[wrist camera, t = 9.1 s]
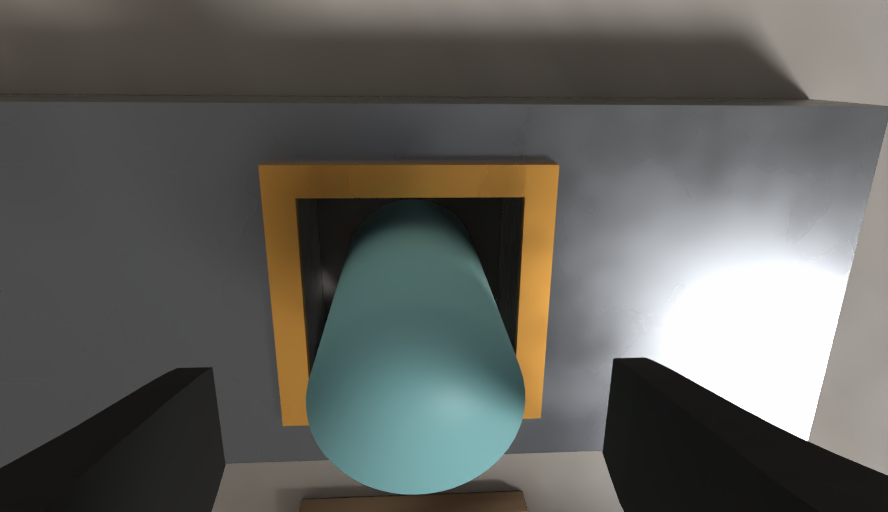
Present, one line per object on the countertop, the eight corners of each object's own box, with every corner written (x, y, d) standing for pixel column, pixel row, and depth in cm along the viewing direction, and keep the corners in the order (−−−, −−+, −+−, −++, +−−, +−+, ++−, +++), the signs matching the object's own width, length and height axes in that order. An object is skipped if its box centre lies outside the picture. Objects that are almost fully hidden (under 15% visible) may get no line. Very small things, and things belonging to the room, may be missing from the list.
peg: (477, 199, 18) (531, 302, 10) (473, 318, 19) (519, 491, 11) (345, 199, 17) (297, 306, 10) (350, 320, 19) (312, 498, 11)
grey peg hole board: (811, 99, 17) (900, 107, 14) (750, 390, 20) (813, 449, 17) (-31, 94, 16) (-140, 101, 12) (46, 410, 19) (-25, 478, 16)
